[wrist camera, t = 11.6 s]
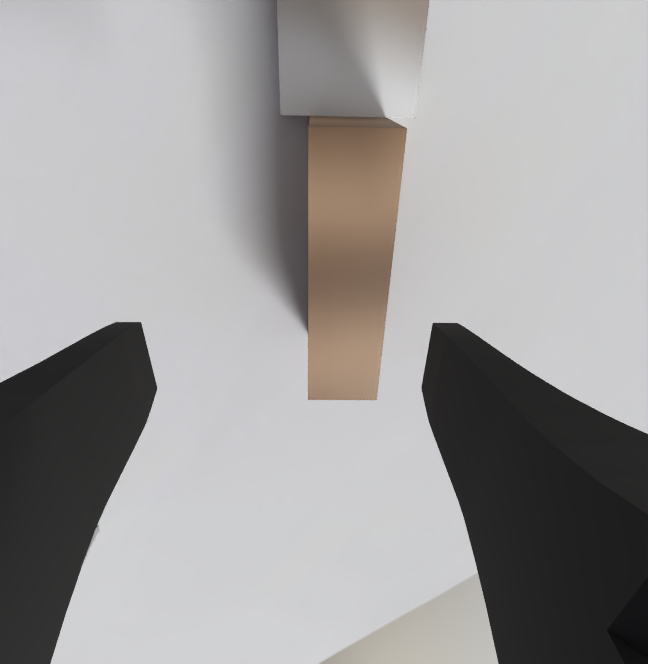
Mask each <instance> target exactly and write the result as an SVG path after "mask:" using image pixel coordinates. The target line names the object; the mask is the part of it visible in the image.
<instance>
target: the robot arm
mask: <svg viewBox="0 0 648 664" xmlns="http://www.w3.org/2000/svg"><path fill="white" fill-rule="evenodd" d="M156 391H157V385H156V381H155V377H154V373H153V369H152V365H151V361H150V357H149V353H148V349H147V345H146V341H145V337H144V333H143V329H142V324H141V322H115V323H113V324H111V325H108V326H106V327H104V328H102V329H100V330H98V331H96V332H94V333H92V334H90V335H89V336H87V337H85V338H83V339H81V340H79V341H78V342H76V343H74V344H72V345H70V346H69V347H67V348H65V349H63V350H61V351H60V352H58V353H56V354H54V355H52V356H51V357H49V358H47V359H45V360H43V361H42V362H40V363H38V364H36V365H34V366H32V367H30V368H28V369H26V370H24V371H22V372H20V373H18V374H17V375H15V376H13V377H11V378H9V379H7V380H5V381H3V382H1V383H0V664H50V663H51V659H52V656H53V653H54V650H55V647H56V643H57V640H58V637H59V634H60V630H61V627H62V624H63V621H64V617H65V614H66V611H67V608H68V605H69V602H70V599H71V597H72V594H73V591H74V588H75V585H76V582H77V579H78V576H79V573H80V570H81V567H82V564H83V562H84V559H85V556H86V554H87V551H88V548H89V546H90V543H91V540H92V538H93V535H94V532H95V529H96V527H97V524H98V522H99V519H100V517H101V515H102V513H103V510H104V508H105V506H106V504H107V502H108V500H109V498H110V495H111V493H112V491H113V489H114V487H115V485H116V483H117V481H118V479H119V477H120V475H121V473H122V471H123V469H124V467H125V465H126V463H127V461H128V459H129V457H130V455H131V453H132V451H133V449H134V447H135V445H136V443H137V441H138V439H139V437H140V435H141V433H142V431H143V429H144V426H145V424H146V422H147V419H148V416H149V413H150V410H151V407H152V404H153V401H154V397H155V394H156ZM422 392H423V397H424V402H425V407H426V411H427V415H428V420H429V423H430V426H431V429H432V432H433V434H434V437H435V440H436V442H437V445H438V448H439V451H440V453H441V456H442V458H443V461H444V464H445V466H446V469H447V472H448V474H449V477H450V480H451V482H452V485H453V488H454V490H455V493H456V496H457V498H458V501H459V504H460V507H461V510H462V513H463V516H464V520H465V523H466V527H467V531H468V535H469V539H470V542H471V546H472V550H473V554H474V558H475V562H476V566H477V570H478V574H479V578H480V582H481V586H482V591H483V595H484V599H485V603H486V608H487V612H488V617H489V621H490V626H491V631H492V635H493V640H494V644H495V649H496V653H497V658H498V663H499V664H648V434H646V433H644V432H642V431H640V430H637V429H635V428H633V427H630V426H628V425H626V424H624V423H622V422H620V421H618V420H615V419H613V418H611V417H609V416H607V415H605V414H603V413H601V412H599V411H597V410H596V409H594V408H592V407H590V406H588V405H586V404H584V403H582V402H580V401H578V400H576V399H574V398H573V397H571V396H569V395H567V394H565V393H564V392H562V391H560V390H559V389H557V388H555V387H554V386H552V385H550V384H549V383H547V382H545V381H544V380H542V379H540V378H539V377H537V376H536V375H534V374H532V373H531V372H529V371H528V370H526V369H525V368H523V367H522V366H520V365H519V364H517V363H516V362H514V361H513V360H511V359H510V358H508V357H507V356H505V355H504V354H502V353H501V352H500V351H498V350H497V349H495V348H494V347H492V346H491V345H490V344H488V343H487V342H485V341H484V340H482V339H481V338H480V337H478V336H477V335H475V334H474V333H472V332H471V331H469V330H468V329H466V328H465V327H463V326H461V325H460V324H458V323H433V325H432V331H431V337H430V342H429V348H428V354H427V359H426V365H425V371H424V376H423V382H422Z"/></svg>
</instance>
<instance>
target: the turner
mask: <svg viewBox="0 0 648 664" xmlns="http://www.w3.org/2000/svg"><path fill="white" fill-rule="evenodd" d="M428 8H429V0H277V25H278V58H279V91H280V115H297V116H310V119H309V125H308V400H377V392H378V383H379V374H380V365H381V356H382V348H383V339H384V330H385V321H386V312H387V303H388V294H389V285H390V276H391V267H392V258H393V249H394V240H395V231H396V222H397V213H398V204H399V195H400V187H401V178H402V169H403V160H404V151H405V142H406V133H407V128H405V127H403V126H401V125H399V124H397V123H395V122H394V121H392V120H390V119H388V118H386V117H389V118H415V116H416V108H417V100H418V91H419V83H420V75H421V66H422V58H423V50H424V41H425V33H426V25H427V16H428Z"/></svg>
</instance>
